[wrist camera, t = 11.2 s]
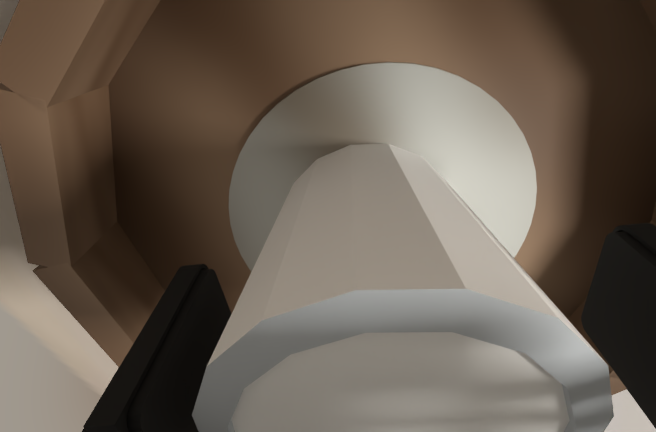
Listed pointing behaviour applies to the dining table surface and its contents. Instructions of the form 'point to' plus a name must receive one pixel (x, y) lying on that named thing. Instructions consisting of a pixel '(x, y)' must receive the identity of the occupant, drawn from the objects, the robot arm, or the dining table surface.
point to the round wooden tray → (314, 131)
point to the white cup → (395, 318)
